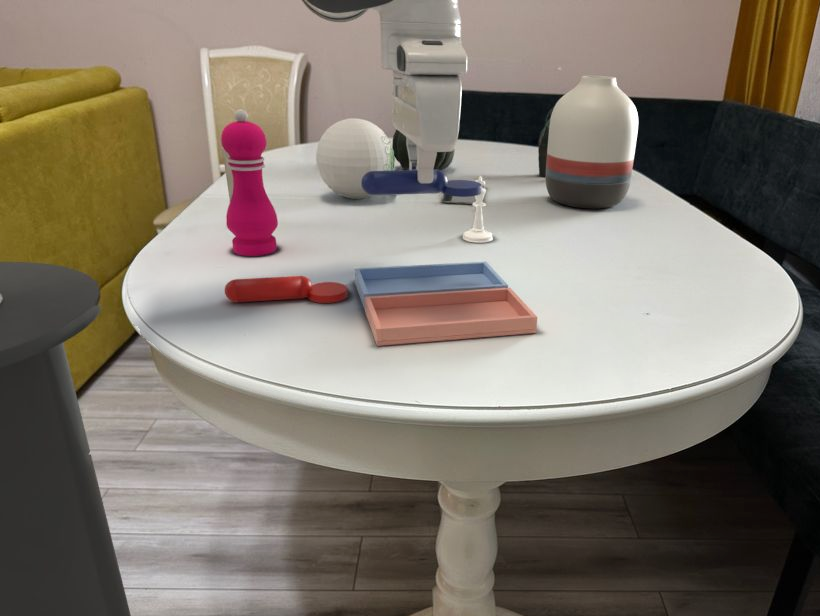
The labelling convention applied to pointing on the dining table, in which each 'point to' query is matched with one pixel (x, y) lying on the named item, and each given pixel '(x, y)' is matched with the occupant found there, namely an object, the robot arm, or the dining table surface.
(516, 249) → the dining table surface
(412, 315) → the red tray
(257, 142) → the pepper mill
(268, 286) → the red spoon
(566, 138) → the vase
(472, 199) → the smartphone
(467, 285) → the blue tray
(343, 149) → the decorative object
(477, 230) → the chess piece
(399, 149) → the squash
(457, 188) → the blue spoon
